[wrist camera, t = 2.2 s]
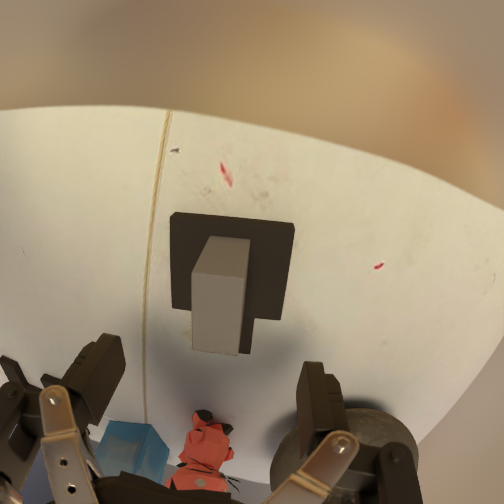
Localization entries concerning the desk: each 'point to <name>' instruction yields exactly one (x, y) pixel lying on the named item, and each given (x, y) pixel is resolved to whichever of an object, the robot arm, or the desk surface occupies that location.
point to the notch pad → (16, 374)
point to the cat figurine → (203, 456)
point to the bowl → (365, 430)
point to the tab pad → (260, 262)
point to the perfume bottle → (132, 451)
